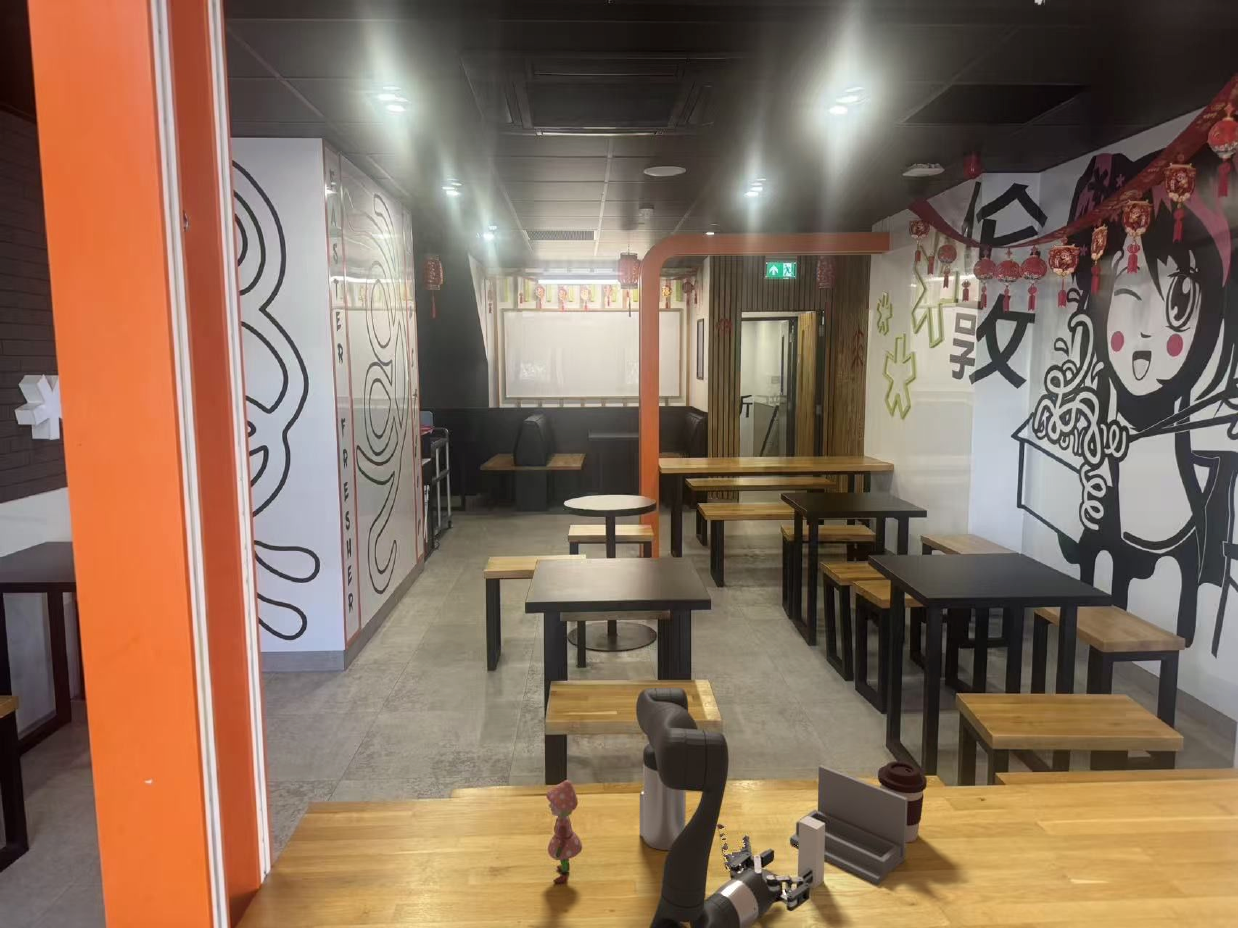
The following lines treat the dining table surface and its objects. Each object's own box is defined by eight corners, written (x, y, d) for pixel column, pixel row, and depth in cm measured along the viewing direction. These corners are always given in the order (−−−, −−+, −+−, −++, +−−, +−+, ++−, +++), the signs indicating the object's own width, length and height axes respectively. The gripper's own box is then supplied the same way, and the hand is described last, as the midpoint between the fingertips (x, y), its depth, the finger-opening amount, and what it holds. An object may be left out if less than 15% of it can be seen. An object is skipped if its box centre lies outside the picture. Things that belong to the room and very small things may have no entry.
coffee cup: (874, 841, 168) (876, 774, 166) (877, 817, 177) (879, 754, 175) (923, 851, 164) (926, 783, 163) (924, 826, 173) (927, 762, 172)
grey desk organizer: (789, 842, 167) (791, 783, 166) (819, 821, 175) (821, 764, 174) (877, 884, 153) (879, 820, 152) (905, 858, 161) (907, 798, 160)
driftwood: (761, 889, 152) (761, 879, 152) (726, 888, 152) (726, 878, 152) (747, 831, 173) (747, 822, 173) (717, 830, 173) (717, 821, 173)
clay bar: (797, 878, 155) (799, 821, 154) (805, 872, 157) (807, 815, 156) (815, 887, 152) (817, 829, 151) (823, 881, 154) (825, 823, 153)
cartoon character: (579, 893, 150) (578, 794, 148) (542, 891, 151) (542, 792, 149) (585, 861, 160) (584, 768, 158) (550, 860, 161) (550, 767, 159)
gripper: (774, 901, 132) (824, 860, 143) (708, 864, 142) (760, 829, 153) (773, 942, 133) (823, 899, 144) (707, 903, 143) (760, 865, 154)
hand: (791, 863), depth 149 cm, fingers open, 8 cm apart
